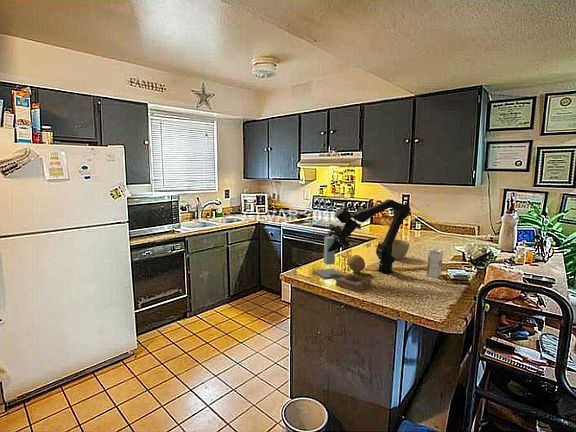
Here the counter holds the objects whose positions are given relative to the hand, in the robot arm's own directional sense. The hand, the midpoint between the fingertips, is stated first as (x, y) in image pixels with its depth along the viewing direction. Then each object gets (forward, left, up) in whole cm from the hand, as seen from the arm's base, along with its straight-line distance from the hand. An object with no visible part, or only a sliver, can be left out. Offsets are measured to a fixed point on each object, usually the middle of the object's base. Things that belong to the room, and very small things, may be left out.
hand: (326, 250), depth 173 cm
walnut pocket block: (-4, +19, -13) cm, 24 cm away
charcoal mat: (-1, 0, -13) cm, 13 cm away
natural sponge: (-17, +2, -13) cm, 22 cm away
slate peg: (-1, 0, -7) cm, 7 cm away
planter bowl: (-60, -16, -13) cm, 64 cm away
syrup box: (-54, +21, -13) cm, 60 cm away
